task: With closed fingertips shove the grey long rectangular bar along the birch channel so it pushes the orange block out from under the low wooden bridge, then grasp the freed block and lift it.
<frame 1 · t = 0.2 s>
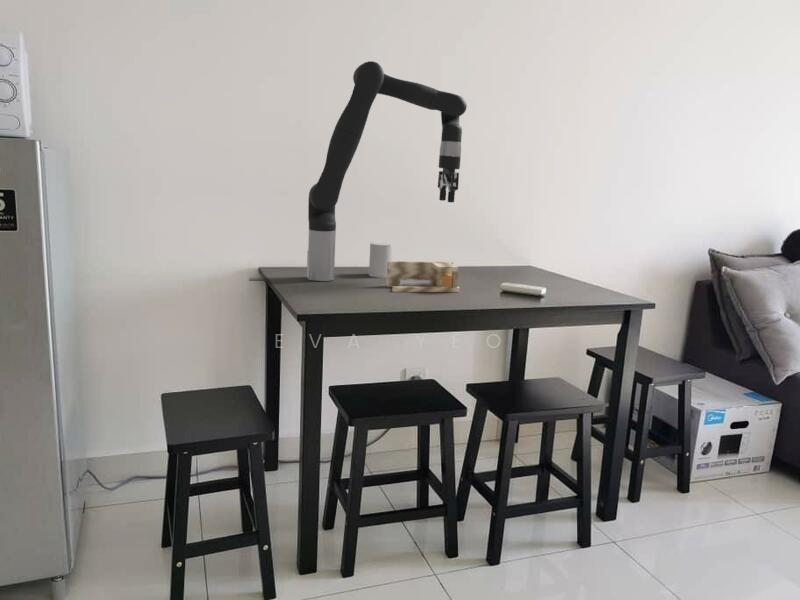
hand: (446, 201, 225), 29 cm above the table, fingers open, 8 cm apart
cup: (379, 276, 233), on the table
bridge channel: (422, 288, 213), on the table
grey long rectangular bar: (415, 289, 213), on the table
block: (442, 289, 215), on the table
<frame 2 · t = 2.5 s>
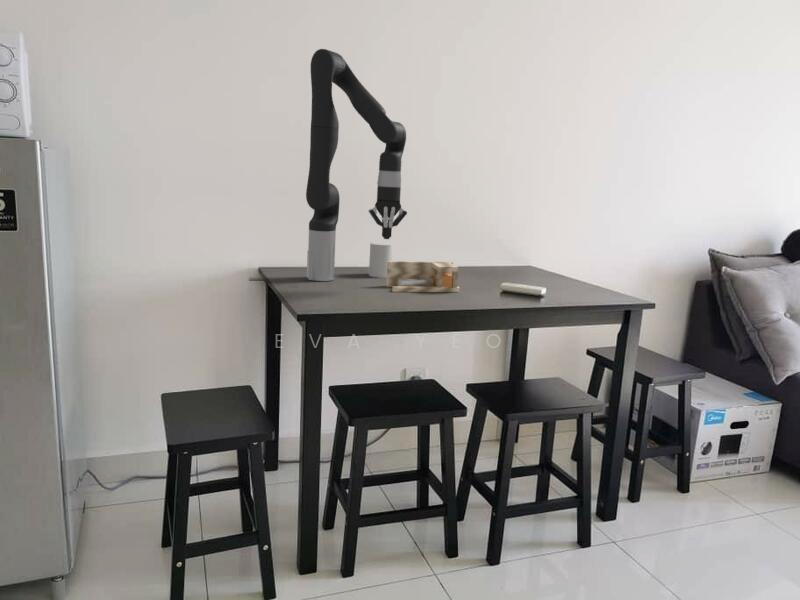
hand: (386, 238, 206), 17 cm above the table, fingers closed
nothing on the table moved.
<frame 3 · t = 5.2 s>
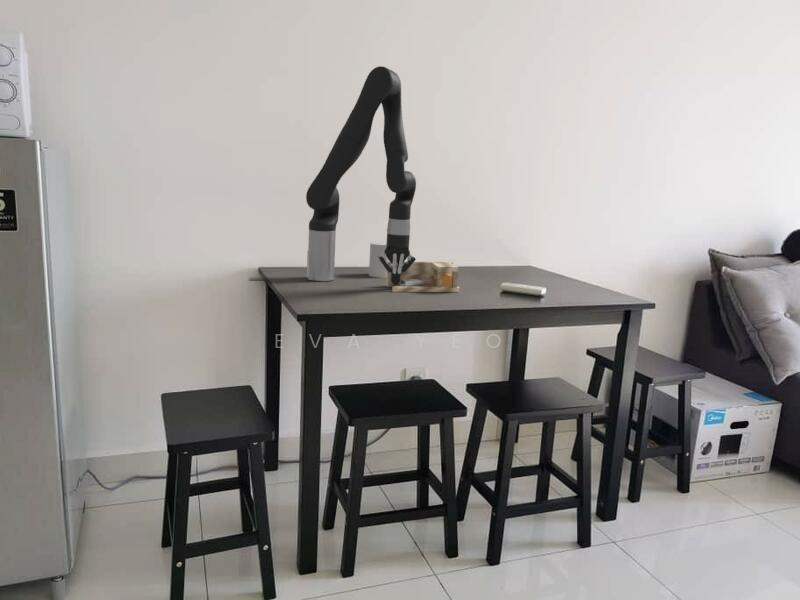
hand: (395, 284, 210), 2 cm above the table, fingers closed
grey long rectangular bar: (417, 289, 213), on the table, touching gripper
everything else where it was.
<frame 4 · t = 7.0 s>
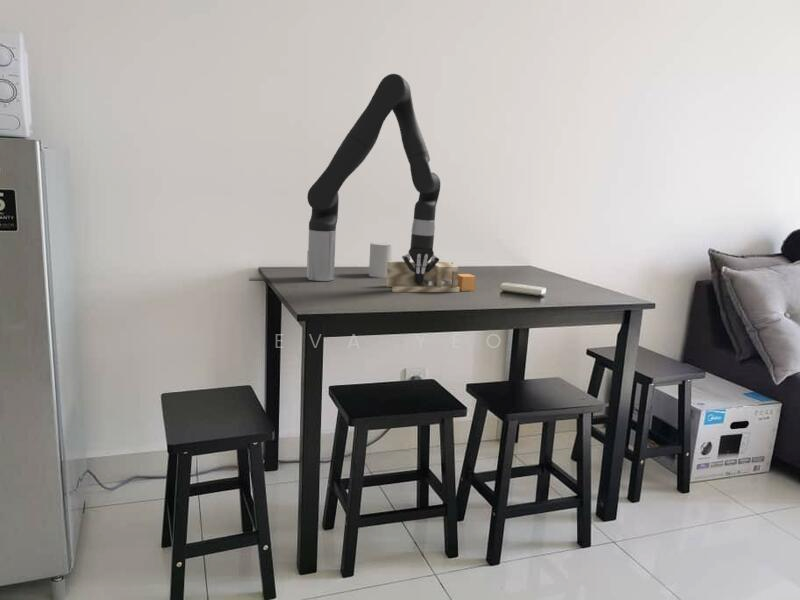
hand: (418, 284, 212), 2 cm above the table, fingers closed
grey long rectangular bar: (441, 290, 214), on the table
block: (464, 289, 217), on the table
everything else where it was.
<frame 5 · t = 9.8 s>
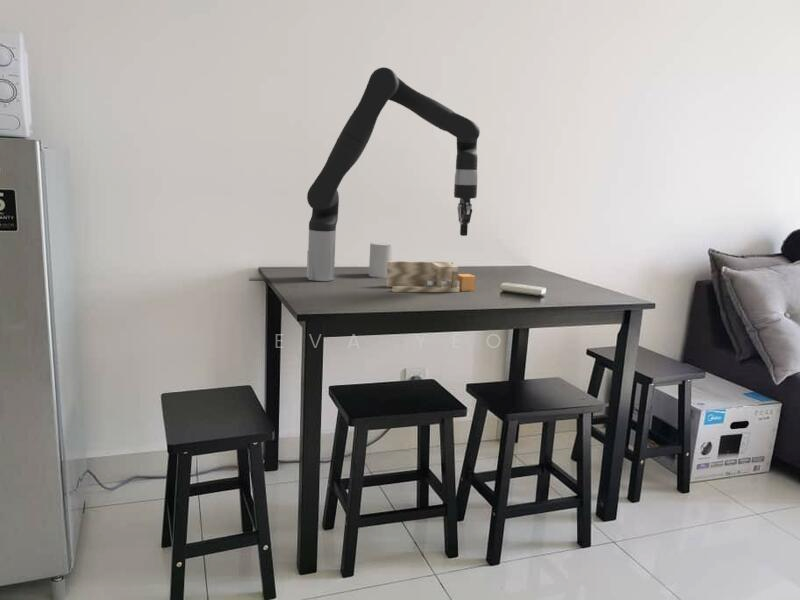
hand: (463, 235, 213), 19 cm above the table, fingers closed
nothing on the table moved.
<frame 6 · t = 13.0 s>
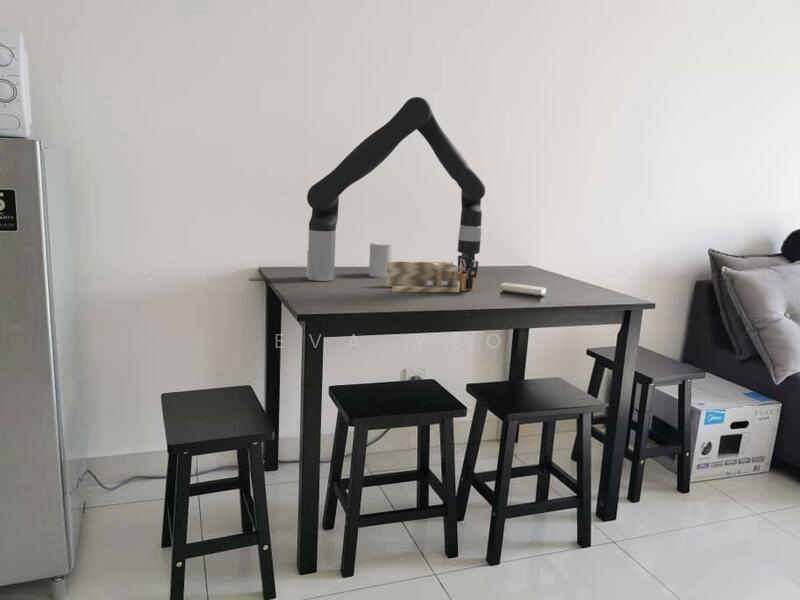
hand: (465, 287, 217), 1 cm above the table, fingers closed on block, 5 cm apart
block: (464, 289, 217), on the table, touching gripper
everything else where it was.
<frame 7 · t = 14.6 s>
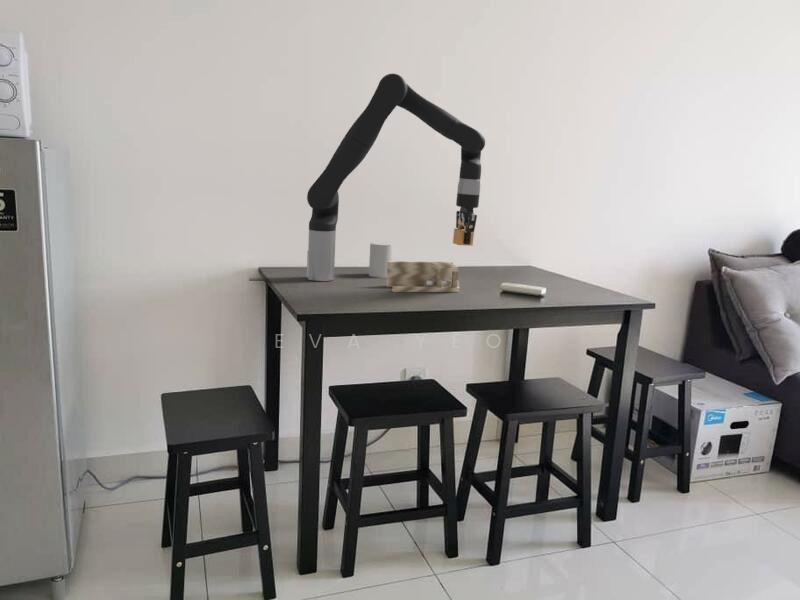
hand: (463, 242, 215), 16 cm above the table, fingers closed on block, 5 cm apart
block: (462, 244, 215), point 15 cm above the table, touching gripper
everything else where it was.
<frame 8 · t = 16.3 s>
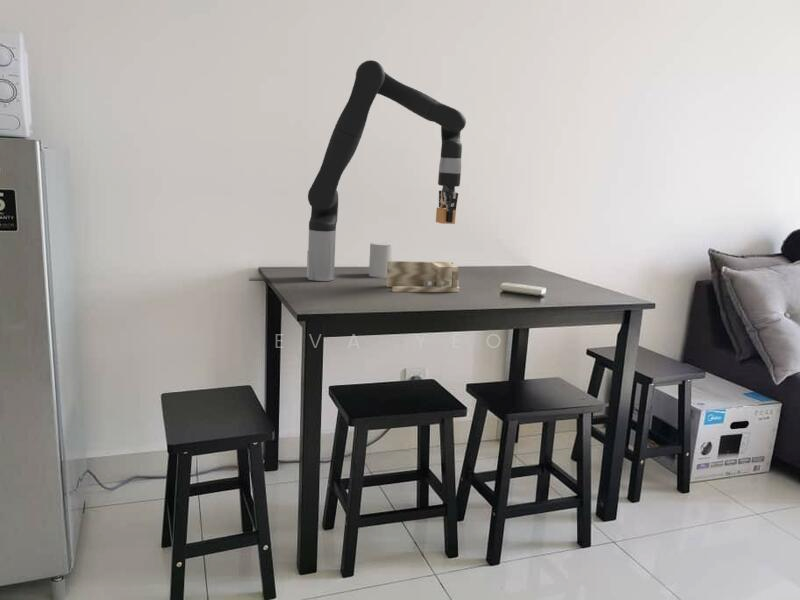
hand: (446, 221, 218), 22 cm above the table, fingers closed on block, 5 cm apart
block: (445, 222, 218), point 22 cm above the table, touching gripper
everything else where it was.
at the end: block inside the target area (9.5 cm from its centre), point 21.8 cm above the table; block touching gripper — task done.
